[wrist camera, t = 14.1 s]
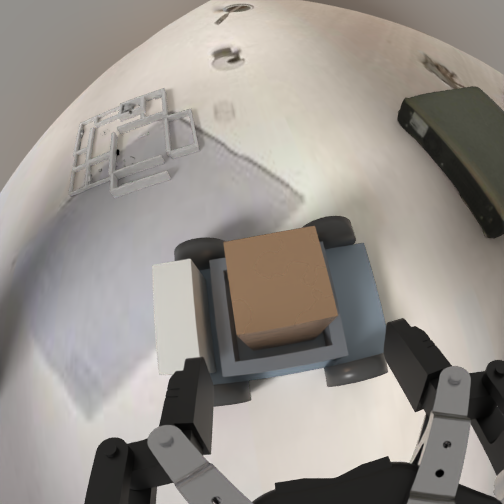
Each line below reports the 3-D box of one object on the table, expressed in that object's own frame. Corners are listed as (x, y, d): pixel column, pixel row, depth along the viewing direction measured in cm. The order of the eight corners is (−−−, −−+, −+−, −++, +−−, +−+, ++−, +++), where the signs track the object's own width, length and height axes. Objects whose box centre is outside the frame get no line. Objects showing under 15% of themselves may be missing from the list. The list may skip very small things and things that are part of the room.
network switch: (458, 95, 38) (467, 75, 34) (547, 190, 29) (562, 173, 25) (382, 127, 35) (390, 100, 30) (500, 263, 26) (524, 246, 21)
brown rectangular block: (253, 350, 23) (236, 335, 14) (243, 292, 25) (223, 242, 16) (314, 339, 23) (338, 315, 14) (302, 281, 25) (314, 225, 16)
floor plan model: (254, 159, 34) (253, 148, 32) (69, 218, 33) (61, 211, 32) (225, 79, 42) (223, 70, 40) (82, 128, 41) (77, 120, 39)
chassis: (186, 403, 24) (156, 411, 17) (174, 266, 29) (146, 235, 22) (386, 369, 23) (420, 365, 17) (354, 236, 29) (372, 198, 22)
